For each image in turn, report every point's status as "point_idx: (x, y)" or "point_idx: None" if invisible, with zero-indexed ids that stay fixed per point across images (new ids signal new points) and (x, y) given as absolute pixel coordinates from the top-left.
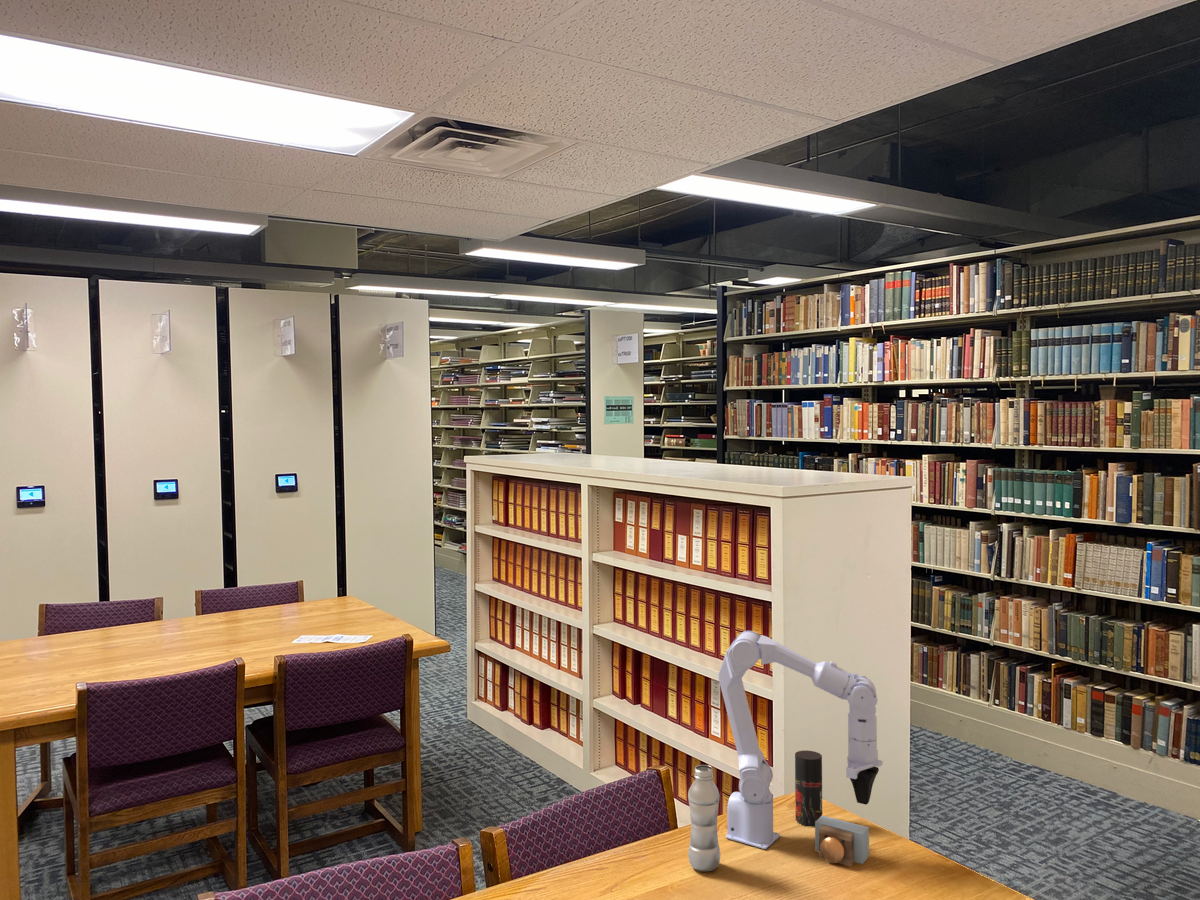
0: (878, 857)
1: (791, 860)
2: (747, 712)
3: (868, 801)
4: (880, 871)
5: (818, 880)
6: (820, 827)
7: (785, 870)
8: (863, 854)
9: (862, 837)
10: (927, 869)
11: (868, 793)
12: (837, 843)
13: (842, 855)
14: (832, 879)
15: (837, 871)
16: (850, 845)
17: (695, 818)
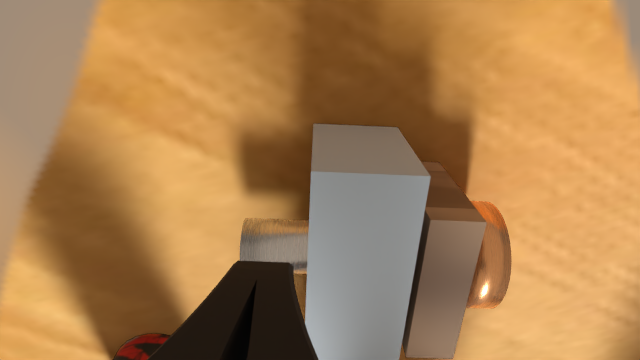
0: (297, 85)
1: (483, 330)
2: None
3: (256, 267)
4: (427, 42)
5: (599, 226)
6: (438, 356)
7: (561, 324)
8: (393, 137)
9: (424, 169)
10: None
11: (304, 328)
12: (508, 252)
13: (491, 206)
14: (575, 189)
15: (502, 191)
16: (468, 200)
17: None
